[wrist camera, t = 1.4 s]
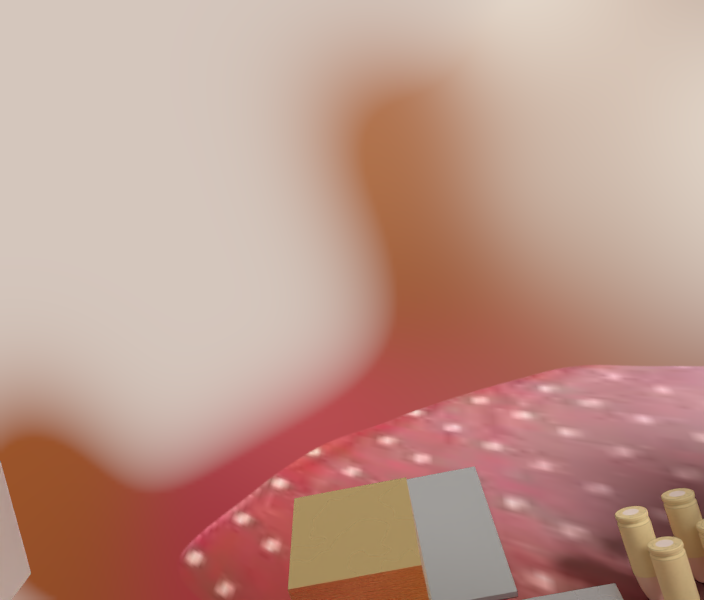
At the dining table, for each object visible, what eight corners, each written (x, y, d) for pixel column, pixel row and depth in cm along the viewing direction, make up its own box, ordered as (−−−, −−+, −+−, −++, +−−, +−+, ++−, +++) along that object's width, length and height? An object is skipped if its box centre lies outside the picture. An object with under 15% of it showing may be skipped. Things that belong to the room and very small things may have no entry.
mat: (475, 471, 46) (474, 466, 45) (517, 596, 35) (517, 591, 35) (324, 499, 46) (323, 495, 46) (323, 631, 36) (321, 626, 36)
